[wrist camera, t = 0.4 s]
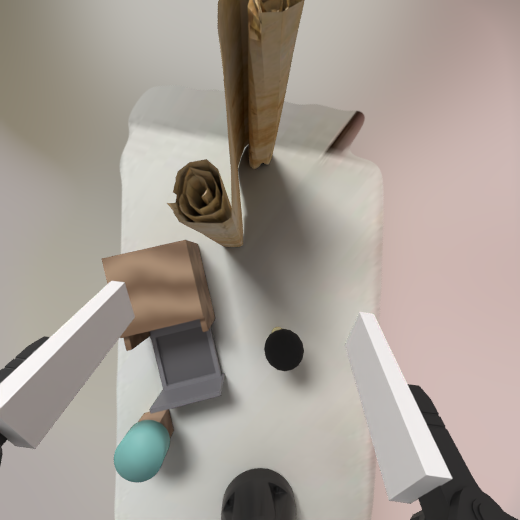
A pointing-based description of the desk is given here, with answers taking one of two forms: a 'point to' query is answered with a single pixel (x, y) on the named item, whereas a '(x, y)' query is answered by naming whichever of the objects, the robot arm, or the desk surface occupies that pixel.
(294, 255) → the desk surface
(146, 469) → the teal rounded puck
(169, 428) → the block
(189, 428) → the desk surface
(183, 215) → the tan piece
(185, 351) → the tray
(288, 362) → the light bulb
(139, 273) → the box
